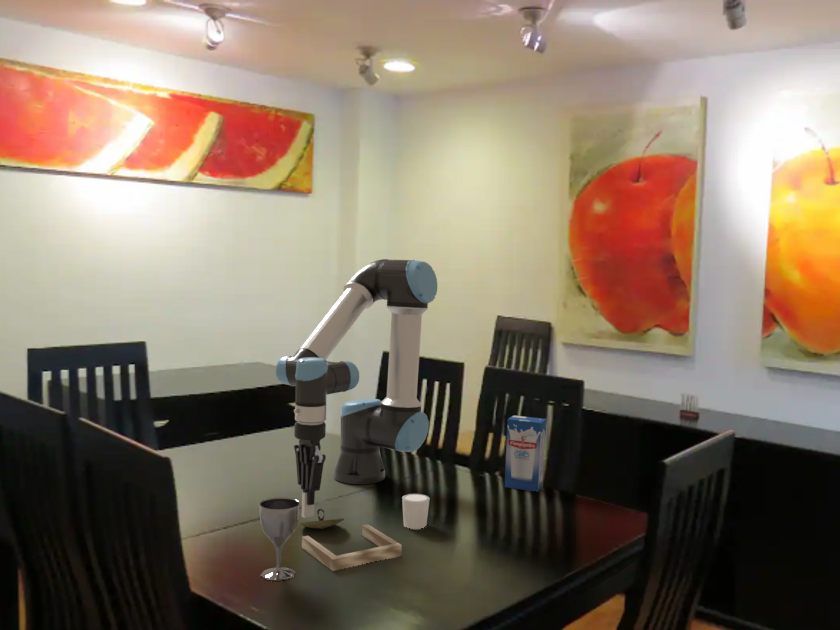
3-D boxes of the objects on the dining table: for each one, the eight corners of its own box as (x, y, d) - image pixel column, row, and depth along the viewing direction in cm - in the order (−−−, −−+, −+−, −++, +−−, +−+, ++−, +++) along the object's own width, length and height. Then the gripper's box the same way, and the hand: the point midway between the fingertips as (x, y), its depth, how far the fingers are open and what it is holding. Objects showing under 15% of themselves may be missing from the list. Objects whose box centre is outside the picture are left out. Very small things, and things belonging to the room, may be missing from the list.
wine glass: (260, 566, 165) (262, 497, 164) (299, 566, 166) (300, 497, 165) (256, 582, 157) (257, 509, 156) (296, 582, 158) (297, 509, 157)
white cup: (425, 531, 189) (426, 503, 189) (398, 528, 191) (399, 500, 190) (431, 522, 196) (432, 494, 196) (404, 519, 198) (405, 492, 197)
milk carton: (504, 486, 228) (507, 419, 226) (510, 481, 234) (513, 415, 232) (538, 491, 224) (541, 422, 223) (543, 486, 230) (546, 418, 228)
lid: (305, 540, 181) (306, 518, 181) (294, 525, 190) (294, 505, 190) (349, 534, 186) (349, 514, 185) (336, 521, 195) (336, 501, 194)
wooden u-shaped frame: (367, 534, 186) (367, 524, 186) (401, 556, 174) (401, 545, 173) (301, 547, 176) (302, 536, 176) (332, 571, 164) (333, 559, 164)
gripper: (284, 417, 194) (282, 511, 196) (307, 428, 184) (305, 527, 185) (312, 415, 199) (310, 506, 200) (336, 425, 188) (333, 522, 189)
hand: (307, 516), depth 193 cm, fingers closed
